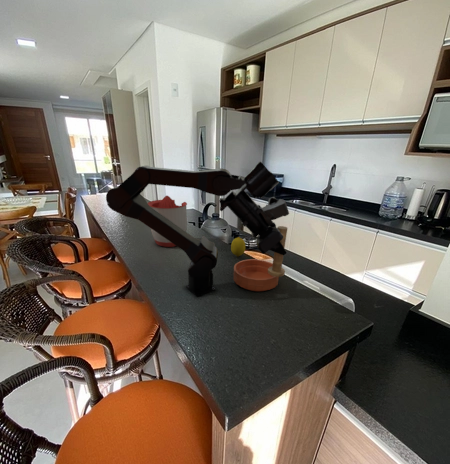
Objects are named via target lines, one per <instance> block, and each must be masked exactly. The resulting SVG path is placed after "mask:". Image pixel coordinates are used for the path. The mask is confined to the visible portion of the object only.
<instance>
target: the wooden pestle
mask: <svg viewBox="0 0 450 464" xmlns="http://www.w3.org/2000/svg"><path fill="white" fill-rule="evenodd" d="M276 228H277V229H278V230H279V231H280V232H281V234H282V235H283V239H282V240H281V241H280V242H281V244H282V245H283V247H284V249H285V247H286V240H287V234H288V227H287V226H284V225H281V226H280V225H278V226H276ZM283 260H284V255H281V254H279V253H276V252H273V257H272V264H273V265H272V267H269V268H268V274H270V275H272V276H275V277H279V278H281V277H284V276H285V273H286V270H285V268H284V267H283Z"/></svg>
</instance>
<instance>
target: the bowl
mask: <svg viewBox="0 0 450 464" xmlns="http://www.w3.org/2000/svg"><path fill="white" fill-rule="evenodd" d="M272 265H273V262H270V261H267V260H263V259H255V258H254V259H253V258H251V259H250V258H249V259H243V260H240V261H238V262H236V263H235V264H234V266H233V274H232V275H233V276H232V279H233V282H234V283H235V284H236V285H237V286H239V287H240V288H243V289H245V290H248V291H252V292H264V291H265V292H267V291H269V290H272V289H274V288H277V286H278V284H279V280H280V277H275V276H272V275H270V274H268V268H269V267H272Z"/></svg>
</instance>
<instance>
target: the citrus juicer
mask: <svg viewBox="0 0 450 464" xmlns="http://www.w3.org/2000/svg"><path fill="white" fill-rule="evenodd" d="M147 203H148V205H149V206H150V207H152V208H153V209H154V210H156V211H157V212H159V213H160V214H161V215H163V216H164V217H166V218H167V219H168V220H170V221H171V222H173V223H174V224H175V225H177V226H178V227H180V228H181V229H182V230H184V231H185V232H187V231H188V215H187V214H188V213H187V211H188V210H187V205H188V203H187V202H186V201H183V202H181V203H180V204H181V205H177V204H176V201H175V199H172V198H171V197H170V196H169V195H165V196H164V197H163V198H162V199H154V200H151V201H149V202H147ZM150 231H151V235H152V238H153V240H154V242H155V244H156V245H158V246H161V247H166V248H173V247H177V246H176V245H175V244H173V243H172V242H170V241H169V240H167V239H166V238H164V237H163V236H161V235H160V234H158V233H157V232H156V231H154V230H153V229H151V228H150Z"/></svg>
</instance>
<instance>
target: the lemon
mask: <svg viewBox="0 0 450 464" xmlns="http://www.w3.org/2000/svg"><path fill="white" fill-rule="evenodd" d="M230 250H231V253H232V254H233V255H234V256H236V257H237V258H238V257H241V256H243V254H245V251H246V242H245V239H243V238H241V237H240V236H238V237H235V238H233V240H232V242H231V244H230Z"/></svg>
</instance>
